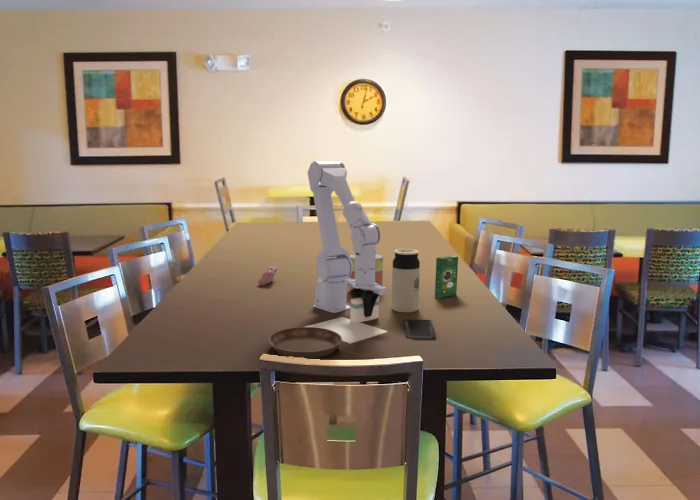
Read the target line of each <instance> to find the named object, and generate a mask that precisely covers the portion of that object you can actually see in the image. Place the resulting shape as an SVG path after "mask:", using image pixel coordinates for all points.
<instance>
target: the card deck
mask: <svg viewBox="0 0 700 500" xmlns="http://www.w3.org/2000/svg"><path fill="white" fill-rule="evenodd" d="M349 306H350V307H351V309H350V311H349V313H350V314H349V315H350V316H349V319H350V322H353V323H359V322H360V323H363V322H368V321H373V320H377V319H379V315H380V314H379V313H380V311H379V309H380V296H379V297H378V298H377V300H376V302H375V305H374V308H373V311H372V315H371V316H369V317H365V315H364V304H363V299H362V297H360V298H354V299H353V298H350V305H349Z"/></svg>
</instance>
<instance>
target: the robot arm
mask: <svg viewBox="0 0 700 500" xmlns="http://www.w3.org/2000/svg"><path fill="white" fill-rule="evenodd" d="M343 162H344V161H341V160H336V161H335V160H334V161H315V160H314V161H312V162H311V163H310V165H309V168H308V170H307V177H308V183H309V187H310V188H309V189H310V191H311V192H312V194H313V199H314V200H313V201H314V206H315V212H316V217H317V223H318V224H317V225H318V229H319V234H320V240H321V246H322V249H321V251H320V252H319V253H318V254H317V255H316V257H315V259H316V266H315V269H316V275H317V276H318V277H319V279H317V281H316V284H315V286H314V287H315V293H314V294H315V296H314V297H315V299H314V300H315V301H314V302H315V304H313V306H312V307H313V308H316V309H319V310H322V311H326V312H329V313H332V314H335V313H340V312H343V311H348V310H351V307H350V306H351V305H348V304H347V296H348V295H347V292H348V291H347V287H348V288H349V286H350V287H353V288H354V289H353V290H350V292H349V294H350V295H351V298H352V299H354V298H360V297H362V299H363V304H364V315H365V317H369V316H371V315H372V311H373V308H374V305H375V302H376V300H377V298H378V297H379V298H380V296H385V295H387V287H385V286H383V285H382V286H381V285H379V284H377V283H375V262H376V254H377V252H376V251H377V245H378V244H379V243H380V241H381V231H380V228H379V226H378V224H376V223H373V221H371V220H370V219H369V217H368V215H367V213H366V212H365V210H364V207H363V205H362V204H361V203H360V202H356V201H355V198H354V196H353V193H352V191H351V188H350V187H349V184H348V181H347V174H348V170H347V169H346V166H345V164H344V163H343ZM333 192H334V193H335V195H336V196H337V198H338V200H339V201H340V202H341V203H340V204H341V205H342V206H343V210H342V215H343V216H344V219H345V221H346V222H347V225H348V227H349V228H350V231H351V234H350V240H351V243H352V250H353V252H354V254H355V279H349V276H350V275H351V274H352V270H353V264H352V261H351V260H350V257H349V254H350V253H349V251H348V250H347V249H345V248H344V247H342V246H341V244H340V243H341V242H340V237H339V232H338V227H337V222H336V221H337V220H336V216H335V215H336V214H335V210H334V203H333V198H332V193H333Z"/></svg>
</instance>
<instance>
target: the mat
mask: <svg viewBox="0 0 700 500" xmlns="http://www.w3.org/2000/svg"><path fill="white" fill-rule="evenodd" d="M304 327H316V328H323V329H328V330H331V331H334V332H336V333H338V334H339V335H340V336H341V338H342V341H341V342H343V343H346V344H350V345H351V344H353V343H358V342H361V341H363V340H367V339H369V338H373V337H374V338H375V337H376V336H380V335H383V334H387V333H388V332H389V331H388V330H385V329H381V328H379V327H375V326H372V325H369V324H366V323H363V322H359V323H353V322H350V318H346V317H344V316H339V317H337V318H333V319H329V320H326V321H321V322H317V323H314V324H310V325H306V326H304Z"/></svg>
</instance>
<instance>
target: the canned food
mask: <svg viewBox="0 0 700 500" xmlns="http://www.w3.org/2000/svg"><path fill="white" fill-rule="evenodd" d="M349 257H350V260H351V261H352V264H353V270H352V274H351V275H350V276H349V279H355V253H352V254H350V255H349ZM383 261H384V256H383V255H382V254H380V253H376V262H375V283H377V284H379V285H381V286H383V272H384V270H383V269H384V267H383V266H384V262H383ZM353 289H354V288H353V287H350V286H348V291H349V292H348V293H350V290H353Z"/></svg>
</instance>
